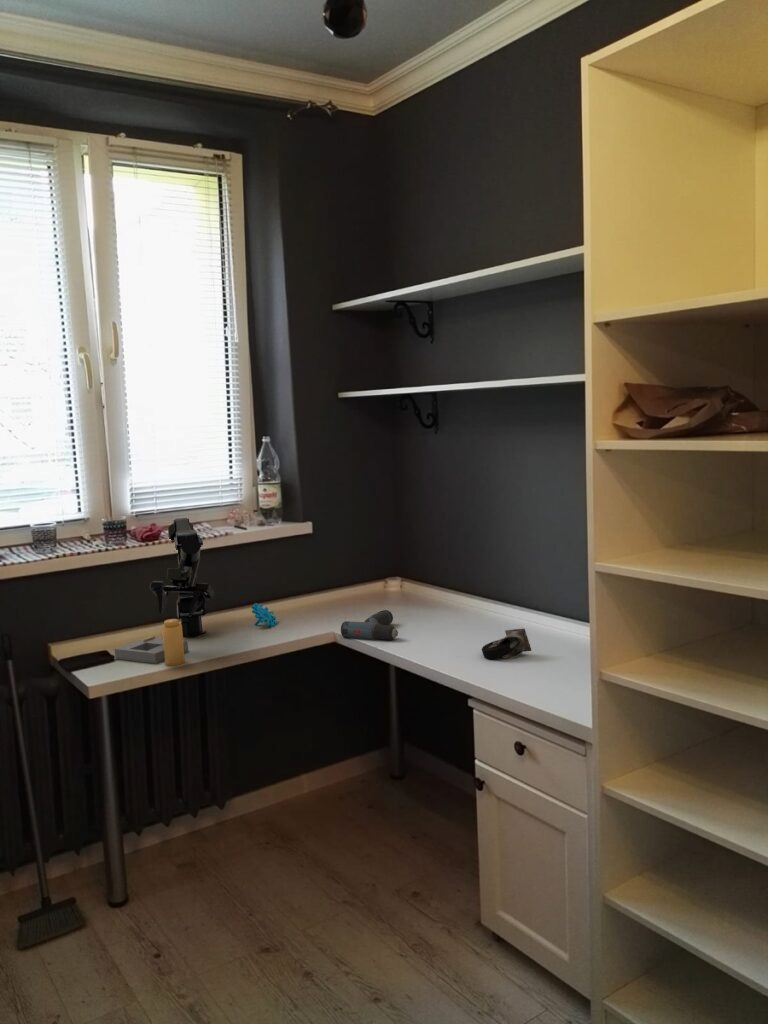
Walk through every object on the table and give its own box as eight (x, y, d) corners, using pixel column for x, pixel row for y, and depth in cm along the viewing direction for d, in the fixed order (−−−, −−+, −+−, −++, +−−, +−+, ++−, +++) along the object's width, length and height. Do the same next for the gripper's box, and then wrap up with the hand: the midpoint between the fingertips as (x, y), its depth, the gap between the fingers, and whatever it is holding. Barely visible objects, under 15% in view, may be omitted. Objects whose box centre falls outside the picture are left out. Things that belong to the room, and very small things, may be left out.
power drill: (422, 627, 277) (393, 644, 259) (371, 623, 286) (340, 639, 268) (422, 611, 276) (392, 627, 259) (370, 607, 285) (339, 622, 268)
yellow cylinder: (174, 659, 255) (170, 617, 254) (188, 660, 252) (185, 618, 251) (160, 664, 250) (157, 622, 249) (175, 666, 248) (172, 623, 246)
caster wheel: (480, 667, 239) (499, 652, 247) (514, 664, 232) (532, 650, 239) (473, 644, 239) (492, 630, 246) (507, 641, 231) (525, 627, 239)
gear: (266, 625, 283) (248, 602, 286) (255, 637, 285) (237, 615, 288) (284, 622, 293) (266, 600, 296) (274, 633, 295) (256, 611, 298)
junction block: (148, 646, 271) (147, 634, 271) (188, 650, 264) (187, 638, 263) (115, 658, 259) (114, 646, 259) (155, 663, 251) (154, 650, 251)
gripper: (149, 555, 261) (135, 602, 253) (207, 556, 257) (195, 604, 249) (162, 572, 270) (149, 618, 262) (219, 574, 266) (208, 621, 258)
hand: (175, 615), depth 257 cm, fingers open, 9 cm apart
